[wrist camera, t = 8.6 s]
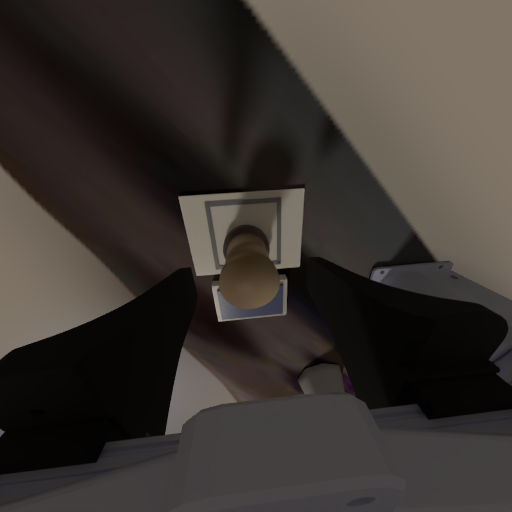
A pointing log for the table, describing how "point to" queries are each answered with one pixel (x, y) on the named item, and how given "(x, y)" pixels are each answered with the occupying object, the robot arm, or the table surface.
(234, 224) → the paper sheet
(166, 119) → the table surface
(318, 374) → the flask
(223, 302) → the ink pad
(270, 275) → the stamp
